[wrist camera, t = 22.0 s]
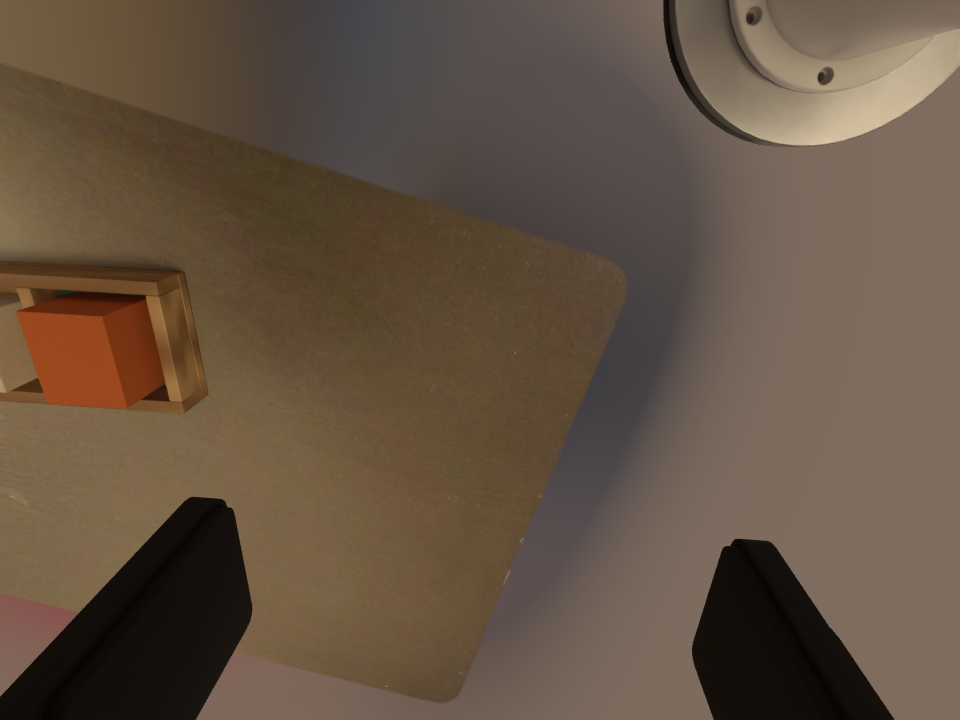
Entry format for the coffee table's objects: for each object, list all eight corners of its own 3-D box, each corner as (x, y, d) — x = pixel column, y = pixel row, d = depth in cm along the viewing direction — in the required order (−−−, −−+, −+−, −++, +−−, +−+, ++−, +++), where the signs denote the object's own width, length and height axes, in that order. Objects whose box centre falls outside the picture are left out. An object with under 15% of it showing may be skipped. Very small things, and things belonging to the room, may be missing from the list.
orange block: (76, 291, 37) (14, 311, 32) (152, 296, 37) (101, 316, 32) (100, 374, 40) (46, 403, 35) (171, 379, 40) (126, 409, 35)
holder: (-67, 257, 38) (-118, 266, 35) (184, 271, 37) (155, 282, 34) (-19, 379, 42) (-60, 397, 39) (208, 394, 41) (184, 413, 38)
